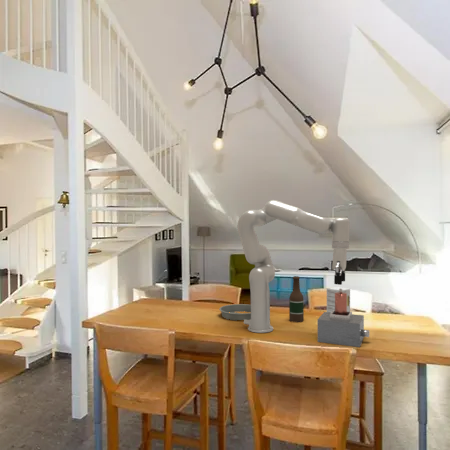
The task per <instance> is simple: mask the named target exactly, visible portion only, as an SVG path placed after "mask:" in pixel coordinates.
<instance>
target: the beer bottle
mask: <svg viewBox="0 0 450 450" xmlns="http://www.w3.org/2000/svg"><path fill="white" fill-rule="evenodd" d="M292 279H293V280H292V291H291V293H290V295H289V301H288V303H289V305H288V307H289V310H288V311H289V315H288V317H289V321H290V322H293V323H302V322H303V321H304V320H305V319H304V317H305V314H304V311H305V309H304V302H305V301H304V295H303V293H302V291H301V288H300V285H301V284H300V276H298V275H296V276H295V275H294V276H293V277H292Z"/></svg>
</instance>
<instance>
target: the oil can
mask: <svg viewBox="0 0 450 450" xmlns="http://www.w3.org/2000/svg"><path fill="white" fill-rule="evenodd" d="M335 314H337V315H347V293H343V292H342V289H339V292H336V293H335Z"/></svg>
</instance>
